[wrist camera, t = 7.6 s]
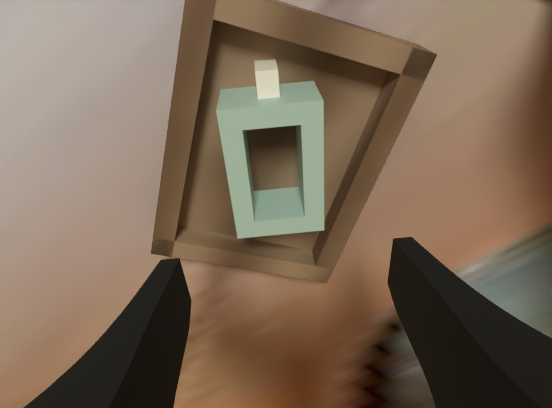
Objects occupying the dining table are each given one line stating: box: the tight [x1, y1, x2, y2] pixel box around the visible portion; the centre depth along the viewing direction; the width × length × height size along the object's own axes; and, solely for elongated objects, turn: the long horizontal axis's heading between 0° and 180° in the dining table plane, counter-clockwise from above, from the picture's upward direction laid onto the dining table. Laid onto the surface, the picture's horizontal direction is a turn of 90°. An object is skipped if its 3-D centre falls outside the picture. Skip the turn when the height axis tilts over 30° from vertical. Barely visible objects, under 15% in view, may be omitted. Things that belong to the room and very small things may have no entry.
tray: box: [151, 0, 437, 283], centre depth 20 cm, size 11×14×2 cm
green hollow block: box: [216, 59, 324, 239], centre depth 19 cm, size 8×5×3 cm, turn 5°
